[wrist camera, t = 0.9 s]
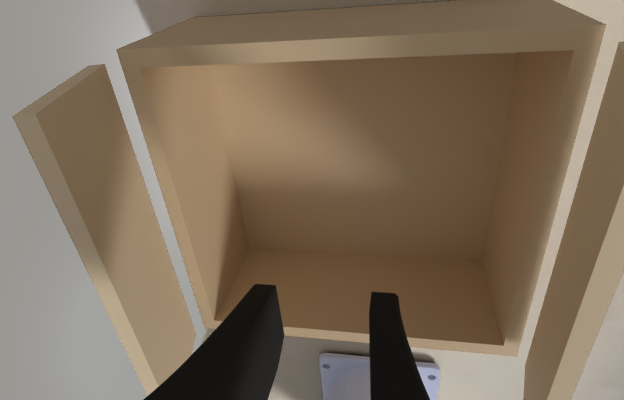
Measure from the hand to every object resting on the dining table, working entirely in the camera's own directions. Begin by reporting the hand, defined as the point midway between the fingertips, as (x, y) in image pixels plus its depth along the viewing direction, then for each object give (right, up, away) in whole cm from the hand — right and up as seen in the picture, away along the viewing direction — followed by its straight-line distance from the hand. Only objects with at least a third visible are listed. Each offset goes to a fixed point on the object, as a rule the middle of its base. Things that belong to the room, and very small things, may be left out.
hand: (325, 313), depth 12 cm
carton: (+2, +6, +9) cm, 10 cm away
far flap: (-6, +1, +3) cm, 7 cm away
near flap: (+7, +1, 0) cm, 7 cm away
